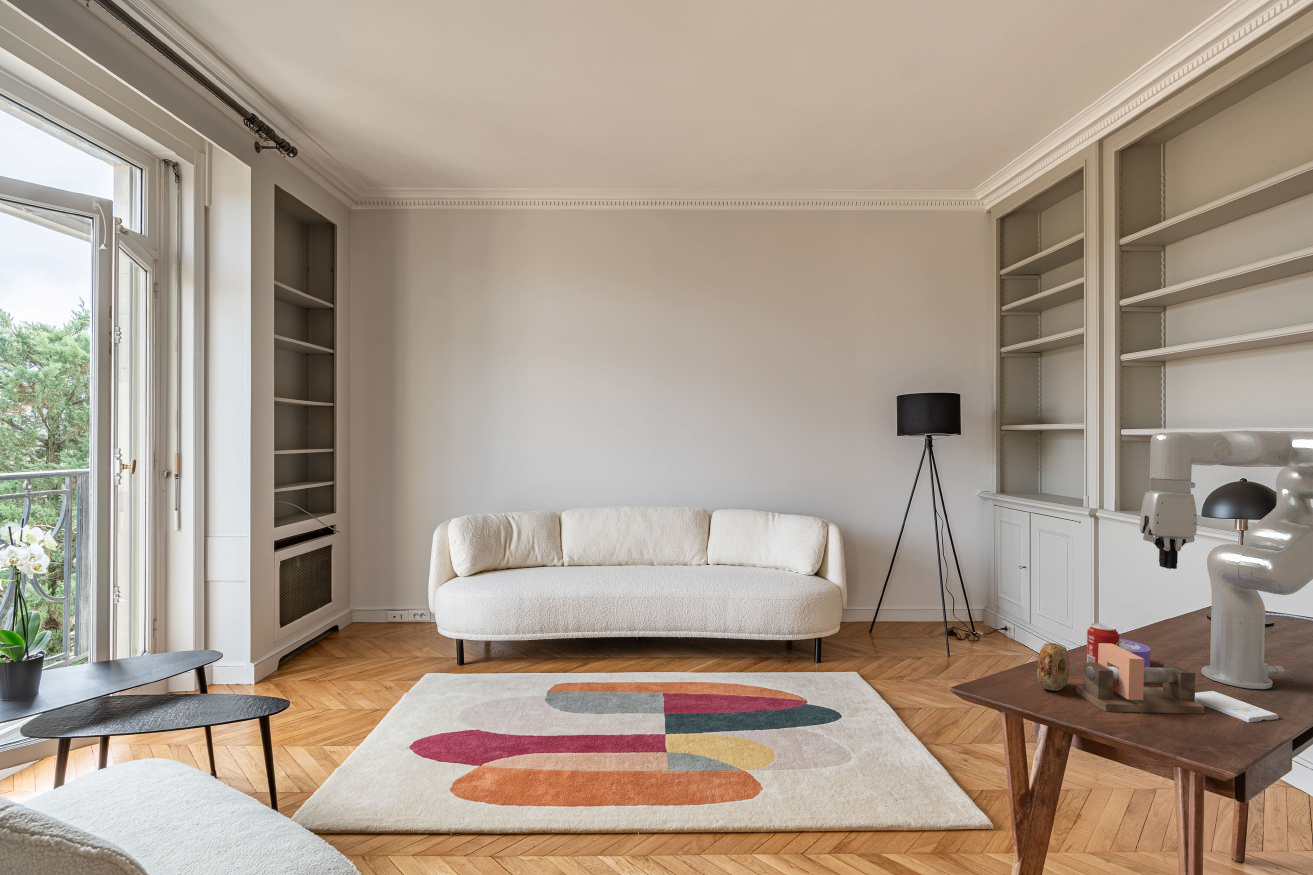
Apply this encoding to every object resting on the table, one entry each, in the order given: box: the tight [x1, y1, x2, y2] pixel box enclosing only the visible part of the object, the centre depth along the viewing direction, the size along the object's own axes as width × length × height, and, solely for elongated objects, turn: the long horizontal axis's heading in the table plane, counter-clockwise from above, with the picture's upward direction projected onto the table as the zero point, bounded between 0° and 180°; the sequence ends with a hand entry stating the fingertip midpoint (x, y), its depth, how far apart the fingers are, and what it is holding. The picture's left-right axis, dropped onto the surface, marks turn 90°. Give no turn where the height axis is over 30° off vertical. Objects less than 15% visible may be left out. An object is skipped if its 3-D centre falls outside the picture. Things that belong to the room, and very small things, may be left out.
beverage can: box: [1086, 622, 1120, 663], centre depth 158 cm, size 6×6×12 cm
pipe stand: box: [1075, 662, 1205, 714], centre depth 143 cm, size 20×10×8 cm, turn 89°
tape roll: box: [1119, 638, 1151, 667], centre depth 168 cm, size 12×12×5 cm
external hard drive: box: [1195, 690, 1279, 723], centre depth 141 cm, size 2×8×12 cm
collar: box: [1098, 643, 1145, 700], centre depth 143 cm, size 3×10×8 cm, turn 179°
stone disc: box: [1036, 642, 1070, 692], centre depth 151 cm, size 10×4×10 cm, turn 126°
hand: (1168, 567), depth 153 cm, fingers closed
